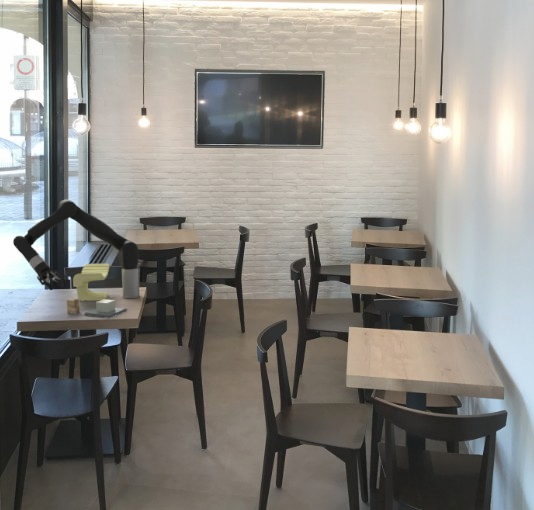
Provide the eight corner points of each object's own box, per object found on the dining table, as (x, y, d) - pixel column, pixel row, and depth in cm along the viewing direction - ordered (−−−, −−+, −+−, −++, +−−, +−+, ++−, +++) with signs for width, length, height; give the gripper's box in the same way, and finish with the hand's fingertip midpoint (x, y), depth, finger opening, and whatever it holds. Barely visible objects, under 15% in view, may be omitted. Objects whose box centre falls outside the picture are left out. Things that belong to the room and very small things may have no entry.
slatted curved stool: (84, 292, 435) (82, 264, 432) (110, 292, 436) (109, 263, 433) (74, 304, 406) (72, 273, 403) (103, 303, 407) (101, 273, 404)
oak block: (72, 311, 390) (72, 298, 389) (79, 312, 388) (78, 298, 387) (67, 313, 386) (66, 299, 385) (74, 314, 384) (73, 300, 383)
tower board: (102, 308, 396) (102, 296, 395) (127, 311, 390) (126, 299, 389) (84, 315, 381) (83, 303, 380) (109, 318, 375) (108, 305, 374)
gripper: (34, 263, 383) (52, 285, 381) (51, 258, 396) (69, 280, 394) (26, 272, 386) (45, 294, 384) (44, 267, 399) (62, 289, 397)
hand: (57, 287), depth 389 cm, fingers open, 8 cm apart
